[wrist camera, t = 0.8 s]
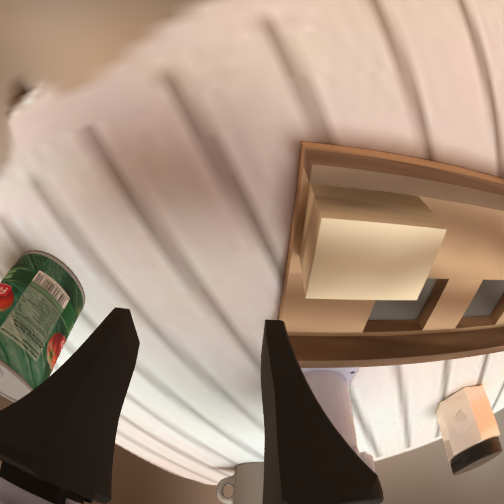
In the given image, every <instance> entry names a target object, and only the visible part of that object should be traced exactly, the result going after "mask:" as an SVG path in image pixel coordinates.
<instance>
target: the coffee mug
mask: <svg viewBox="0 0 504 504" xmlns="http://www.w3.org/2000/svg"><path fill="white" fill-rule="evenodd" d="M263 480H264V462H251V463H243V464H240V465H237V466H236V471H235V474H234V475H233V476H230V477H227V478H224V479H222V480H221V481H220V482H219V483H218V485H217V490H216V493H217V497H218V499H219V500H220V501H221V502H223V503H227V504H262V501H263V495H262V493H263ZM226 484H231V485H232V486H233V488H234V492H233V495H232V496H231V497H230V498H227V497H225V496H224V494H223V488H224V486H225V485H226Z"/></svg>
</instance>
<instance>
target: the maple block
mask: <svg viewBox="0 0 504 504" xmlns="http://www.w3.org/2000/svg"><path fill="white" fill-rule="evenodd" d="M446 230H447V229H446V228H445V227H444V225H443V224H442V223H441V222H440V221H439V219H438V218H437V217H436V216H435V215H434V213H433V212H432V211H431V210H430V209H429V208H428V206H427V205H426V204H425V203H424V202H423V201H422V200H421V198H420V197H419V196H413V195H406V194H399V193H391V192H383V191H375V190H367V189H358V188H349V187H339V186H329V185H318V184H310V187H309V194H308V201H307V208H306V215H305V222H304V228H303V235H302V241H301V247H300V253H299V257H300V264H301V270H302V277H303V284H304V290H305V297H306V298H310V299H346V300H417V299H418V296H419V294H420V292H421V290H422V288H423V286H424V284H425V281H426V279H427V277H428V275H429V272H430V270H431V268H432V265H433V263H434V261H435V258H436V256H437V253H438V251H439V248H440V246H441V243H442V241H443V238H444V236H445V233H446Z"/></svg>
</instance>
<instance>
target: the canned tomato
mask: <svg viewBox="0 0 504 504" xmlns="http://www.w3.org/2000/svg"><path fill="white" fill-rule="evenodd" d="M84 303H85V296H84V292H83V289H82V287H81V284H80V282H79V281H78V279H77V278H76V276H75V275H74V274H73V273H72V271H71V270H70V269H69V268H68V267H67V266H66V265H64V264H63V263H62V262H61V261H59V260H58V259H56V258H55V257H53V256H51V255H49V254H46V253H44V252H39V251H29V252H26V253H24V254H23V255H22V256H21V257H20V258H19V260H18V261H17V263H16V264H15V265H14V266H13V267H12V268H11V270H10V271H9V272H8V273H7V275H6V276H5V278H4V279H3V280H2V281H1V283H0V395H2V396H4V397H5V398H7V399H9V400H11V401H13V402H16V401H18V400H19V399H21V398H22V397H24V396H25V395H27V394H28V393H30V392H31V391H32V390H34V389H35V388H36V387H38V386H39V385H40V384H41V383H43V382H44V381H45V380H46V379H48V378H49V377H50V374H51V372H52V370H53V367H54V365H55V363H56V361H57V358H58V357H59V355H60V352H61V350H62V348H63V346H64V344H65V342H66V340H67V337H68V336H69V334H70V331H71V330H72V328H73V325H74V323H75V322H76V320H77V318H78V316H79V314H80V312H81V311H82V309H83V307H84Z"/></svg>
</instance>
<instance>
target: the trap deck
mask: <svg viewBox="0 0 504 504" xmlns="http://www.w3.org/2000/svg"><path fill="white" fill-rule="evenodd" d="M310 184H318V185H329V186H339V187H349V188H358V189H367V190H375V191H383V192H391V193H399V194H406V195H413V196H419V197H420V198H421V200H422V201H423V202H424V203H425V204H426V205H427V206H428V208H429V209H430V210H431V211H432V212H433V213H434V215H435V216H436V217H437V218H438V219H439V221H440V222H441V223H442V224H443V225H444V227H445V228H446V229H447V230H446V233H445V236H444V238H443V241H442V243H441V246H440V248H439V251H438V253H437V256H436V258H435V261H434V263H433V265H432V268H431V270H430V272H429V275H428V277H427V279H426V281H425V284H424V286H423V288H422V290H421V292H420V294H419V296H418V299H417V300H346V299H310V298H306V297H305V290H304V284H303V277H302V270H301V264H300V257H299V253H300V247H301V241H302V235H303V228H304V222H305V215H306V208H307V201H308V194H309V187H310ZM278 320H282V321H283V322H284V323H285V326H286V330H287V334H288V337H289V340H290V343H291V346H292V348H293V351H294V354H295V356H296V359H297V361H298V363H299V365H300V368H345V367H370V366H387V365H401V364H412V363H423V362H432V361H441V360H449V359H457V358H464V357H471V356H477V355H484V354H490V353H495V352H501V351H504V179H503V178H499V177H496V176H492V175H489V174H485V173H481V172H477V171H473V170H469V169H465V168H461V167H457V166H453V165H448V164H444V163H439V162H435V161H430V160H425V159H420V158H415V157H410V156H404V155H399V154H393V153H387V152H381V151H375V150H368V149H361V148H354V147H346V146H338V145H330V144H321V143H312V142H302V147H301V156H300V165H299V174H298V182H297V190H296V198H295V206H294V214H293V222H292V229H291V237H290V244H289V252H288V259H287V266H286V273H285V280H284V286H283V293H282V300H281V306H280V313H279V319H278Z"/></svg>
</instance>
